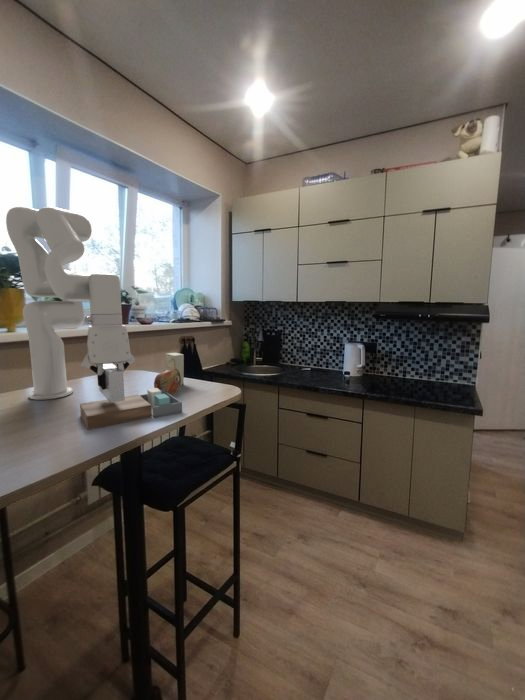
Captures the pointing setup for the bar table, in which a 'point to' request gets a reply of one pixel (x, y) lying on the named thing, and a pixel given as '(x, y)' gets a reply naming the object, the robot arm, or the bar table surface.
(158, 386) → the tin
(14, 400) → the bar table surface
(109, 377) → the grey rectangular block
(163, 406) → the box
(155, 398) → the teal block
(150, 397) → the tile white
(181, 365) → the skincare box
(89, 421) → the board
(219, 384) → the bar table surface
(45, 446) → the bar table surface
